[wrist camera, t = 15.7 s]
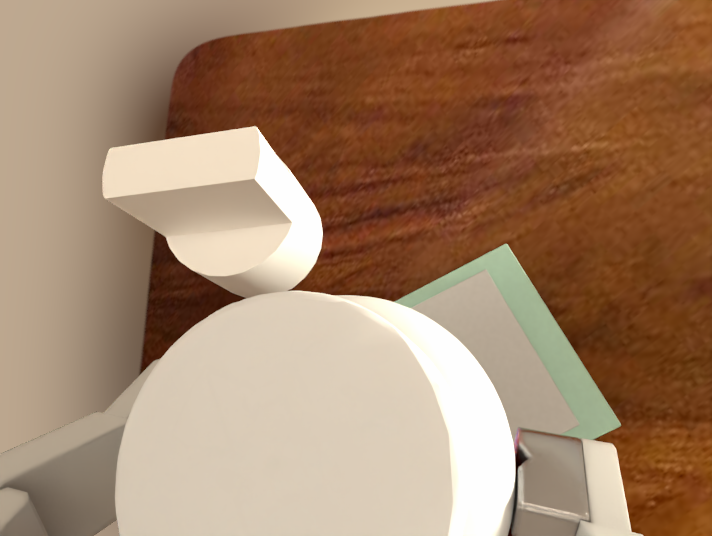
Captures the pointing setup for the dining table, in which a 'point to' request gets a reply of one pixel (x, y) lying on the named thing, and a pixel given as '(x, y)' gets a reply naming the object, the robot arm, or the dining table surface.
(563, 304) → the dining table surface
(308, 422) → the pill bottle
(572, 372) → the scale
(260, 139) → the base with upright slab
